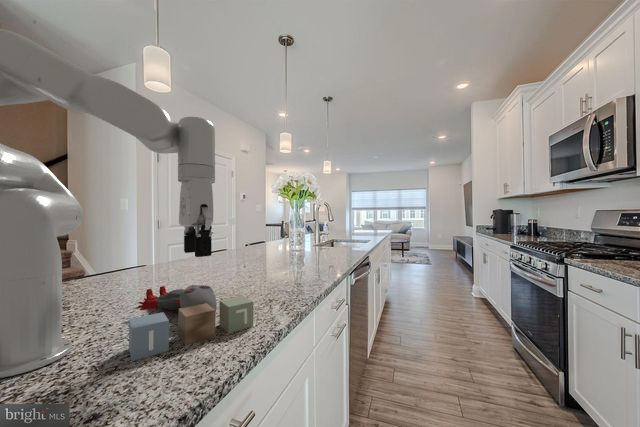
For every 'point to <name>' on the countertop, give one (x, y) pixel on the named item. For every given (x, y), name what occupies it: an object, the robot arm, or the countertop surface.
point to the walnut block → (196, 323)
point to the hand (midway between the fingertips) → (197, 253)
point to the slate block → (148, 335)
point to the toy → (180, 298)
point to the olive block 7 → (236, 313)
